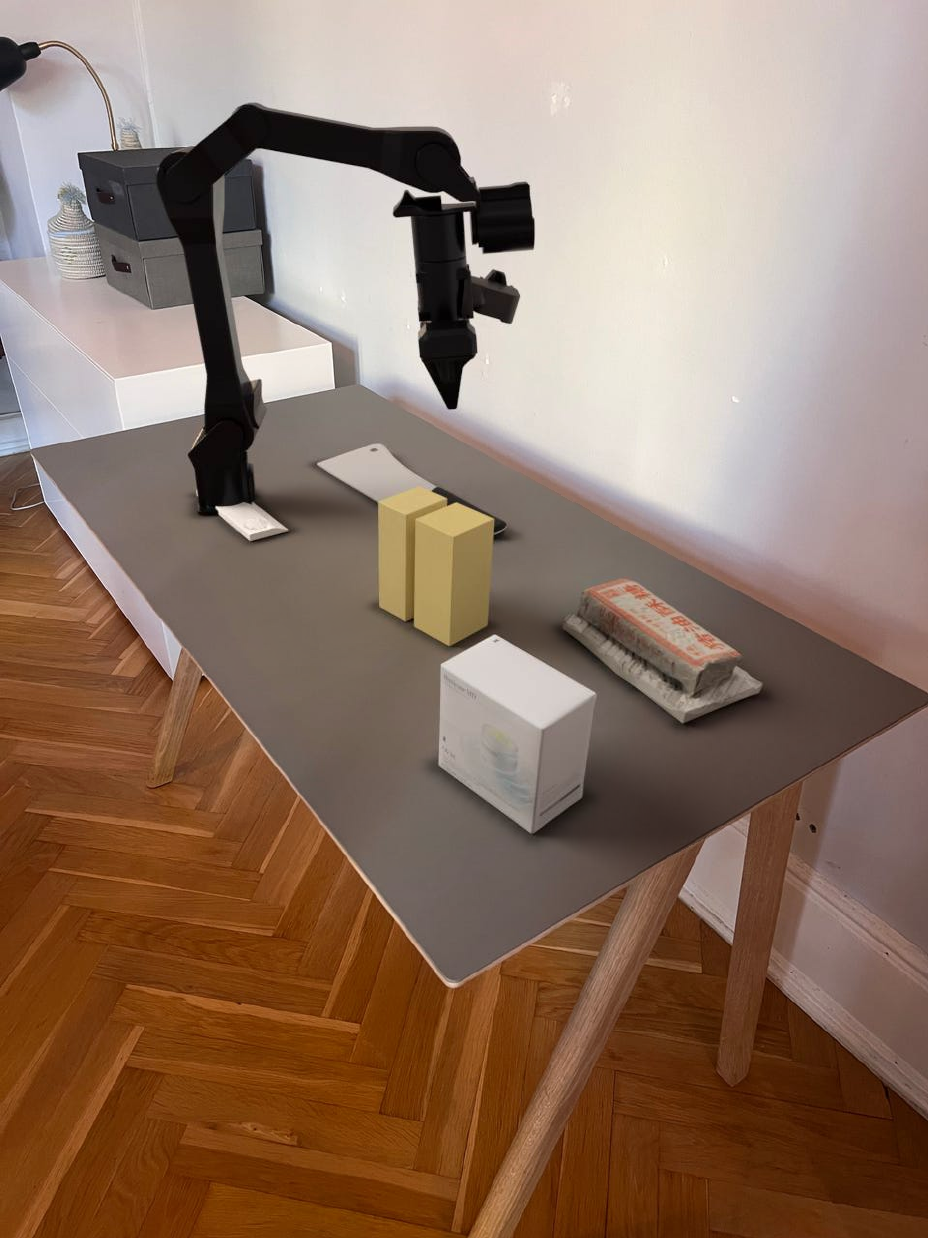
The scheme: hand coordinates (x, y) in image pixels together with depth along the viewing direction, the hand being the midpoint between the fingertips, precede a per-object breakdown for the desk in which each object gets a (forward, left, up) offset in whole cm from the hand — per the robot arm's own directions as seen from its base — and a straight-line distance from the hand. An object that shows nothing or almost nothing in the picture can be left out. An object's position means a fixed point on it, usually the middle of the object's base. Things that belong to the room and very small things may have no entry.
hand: (451, 395), depth 108 cm
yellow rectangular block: (-8, -23, -15) cm, 29 cm away
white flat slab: (-26, +1, -15) cm, 30 cm away
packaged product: (+14, -36, -15) cm, 42 cm away
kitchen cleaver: (-4, +4, -15) cm, 16 cm away
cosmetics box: (-4, -51, -15) cm, 53 cm away
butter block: (-4, -28, -15) cm, 32 cm away
